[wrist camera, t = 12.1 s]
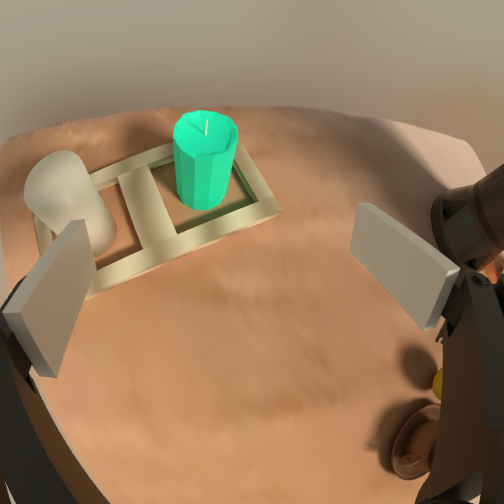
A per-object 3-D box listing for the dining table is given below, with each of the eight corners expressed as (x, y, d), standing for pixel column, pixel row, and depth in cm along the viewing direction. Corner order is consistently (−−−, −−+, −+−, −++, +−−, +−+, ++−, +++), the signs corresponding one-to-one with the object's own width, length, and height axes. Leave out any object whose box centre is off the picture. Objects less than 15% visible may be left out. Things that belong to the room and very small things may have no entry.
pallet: (228, 131, 37) (229, 124, 36) (278, 215, 35) (281, 210, 33) (37, 209, 29) (32, 204, 28) (61, 311, 26) (55, 310, 25)
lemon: (423, 365, 32) (465, 364, 25) (447, 362, 33) (487, 359, 26) (419, 403, 30) (460, 408, 23) (444, 397, 31) (483, 399, 24)
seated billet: (109, 202, 31) (78, 140, 20) (123, 245, 30) (89, 193, 19) (67, 222, 29) (22, 169, 18) (78, 266, 28) (27, 226, 17)
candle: (166, 187, 33) (158, 119, 22) (203, 159, 35) (209, 89, 24) (200, 220, 33) (204, 158, 21) (236, 189, 35) (255, 123, 23)
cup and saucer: (395, 490, 26) (421, 503, 20) (374, 438, 28) (403, 449, 23) (449, 440, 29) (476, 446, 24) (434, 386, 32) (464, 387, 26)
